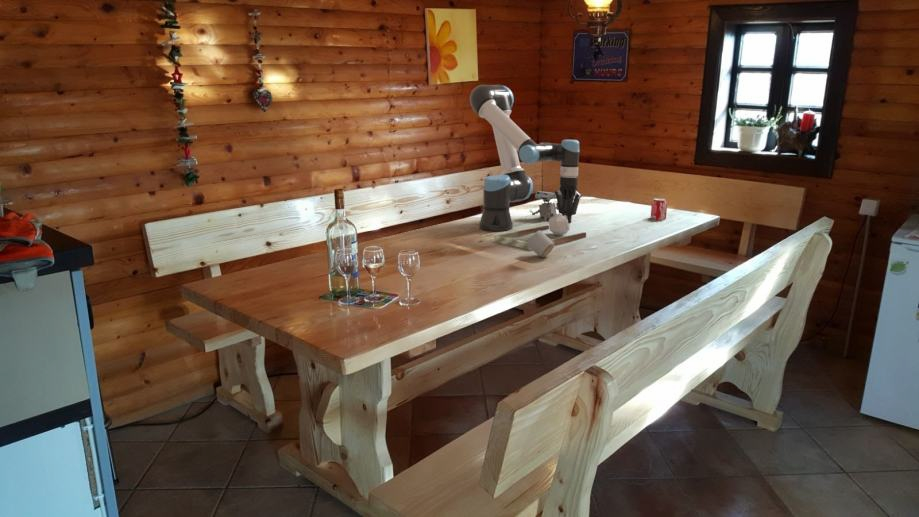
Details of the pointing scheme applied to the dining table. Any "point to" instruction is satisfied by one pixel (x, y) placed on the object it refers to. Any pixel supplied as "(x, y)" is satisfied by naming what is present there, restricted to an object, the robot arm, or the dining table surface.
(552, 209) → the figurine
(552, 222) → the die
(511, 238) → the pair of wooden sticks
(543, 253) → the ceramic mug
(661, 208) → the soda can
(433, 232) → the dining table surface
